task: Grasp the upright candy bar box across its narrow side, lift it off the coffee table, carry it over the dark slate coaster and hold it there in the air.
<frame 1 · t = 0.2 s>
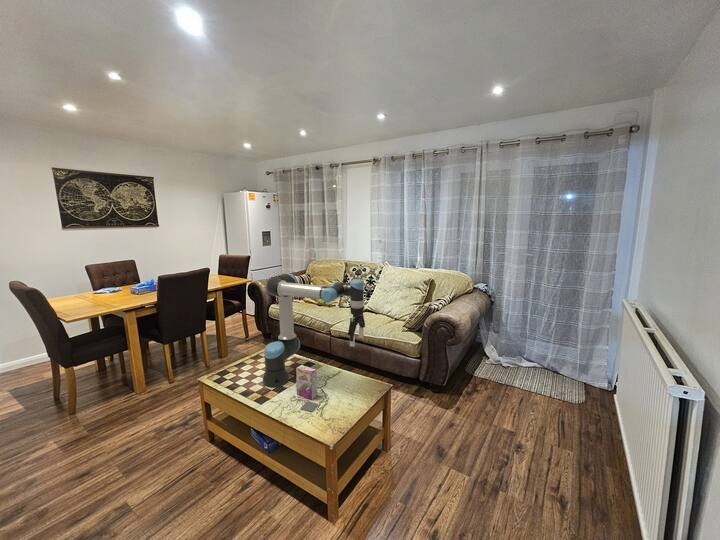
hand: (356, 341, 178), 28 cm above the table, fingers open, 13 cm apart
slate coaster: (309, 407, 161), on the table
candy bar box: (306, 395, 172), on the table
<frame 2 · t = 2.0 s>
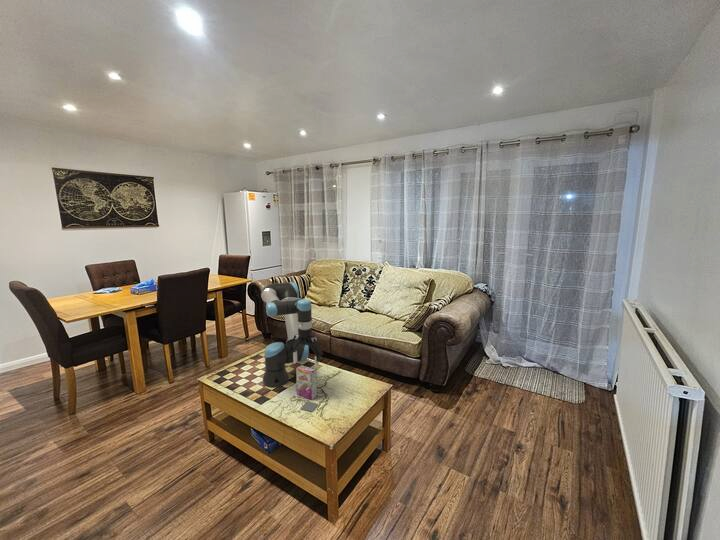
hand: (306, 364, 169), 19 cm above the table, fingers open, 13 cm apart
nothing on the table moved.
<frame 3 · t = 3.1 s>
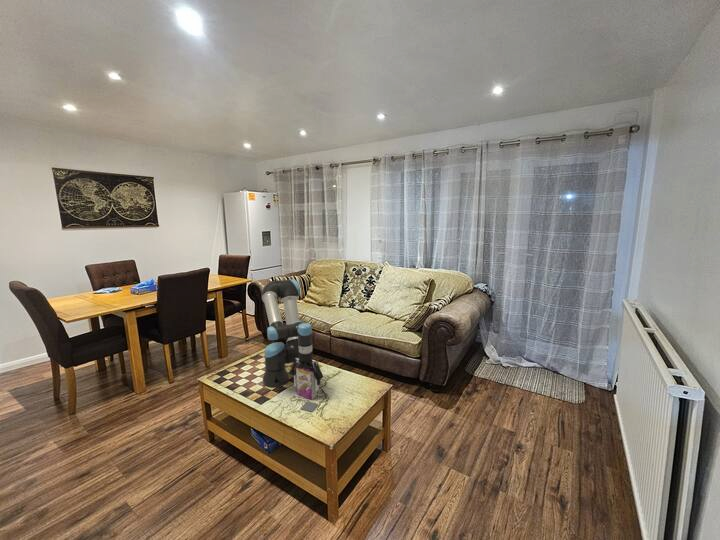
hand: (306, 387, 171), 5 cm above the table, fingers open, 13 cm apart
nothing on the table moved.
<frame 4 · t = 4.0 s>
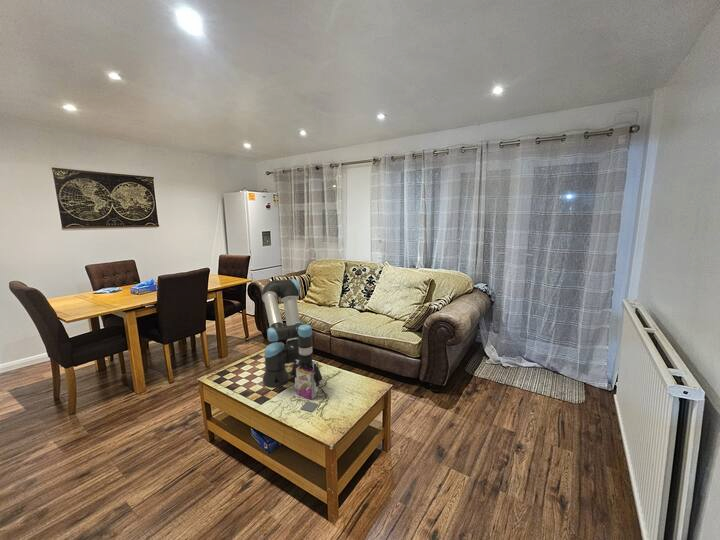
hand: (306, 389, 171), 4 cm above the table, fingers closed on candy bar box, 12 cm apart
candy bar box: (306, 395, 172), on the table, touching gripper
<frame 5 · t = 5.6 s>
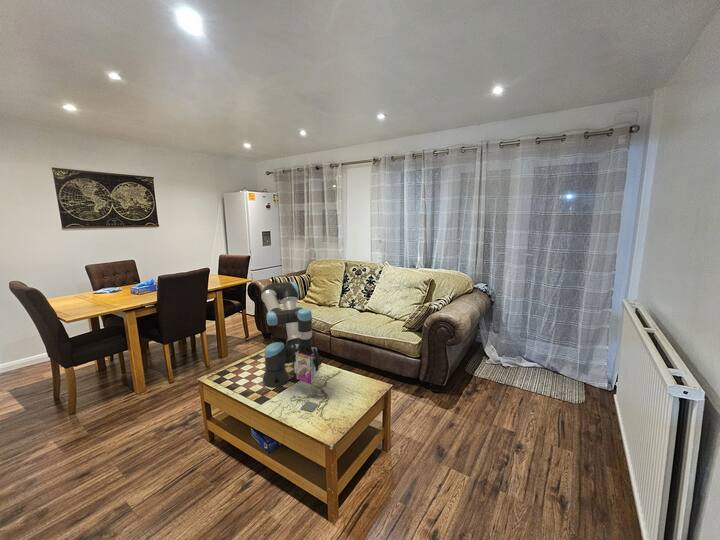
hand: (306, 374, 170), 13 cm above the table, fingers closed on candy bar box, 12 cm apart
candy bar box: (306, 380, 171), point 9 cm above the table, touching gripper
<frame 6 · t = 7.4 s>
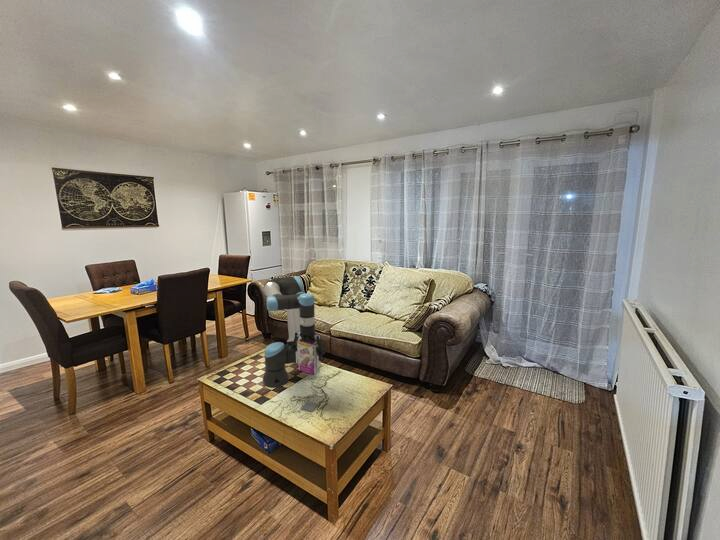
hand: (308, 364, 158), 24 cm above the table, fingers closed on candy bar box, 12 cm apart
candy bar box: (308, 371, 158), point 20 cm above the table, touching gripper
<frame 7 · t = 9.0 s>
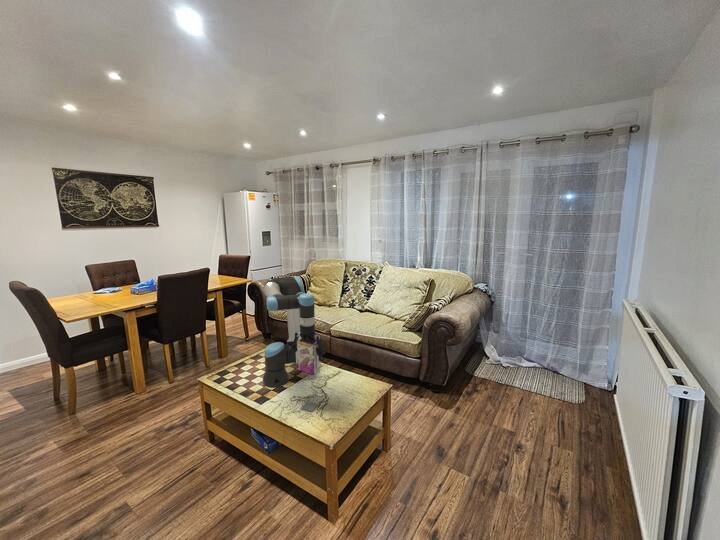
hand: (308, 364, 158), 24 cm above the table, fingers closed on candy bar box, 12 cm apart
candy bar box: (308, 371, 158), point 20 cm above the table, touching gripper
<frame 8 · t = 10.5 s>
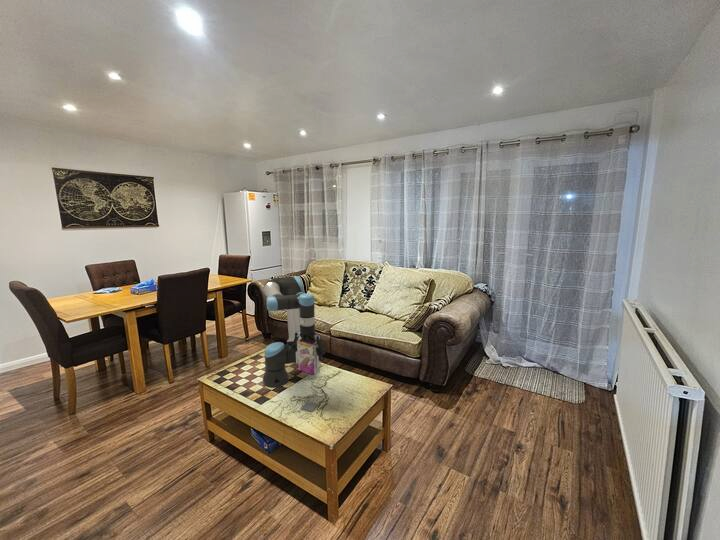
hand: (308, 364, 158), 24 cm above the table, fingers closed on candy bar box, 12 cm apart
candy bar box: (308, 371, 158), point 20 cm above the table, touching gripper
at the end: the gripper is holding candy bar box; candy bar box point 20.2 cm above the table; candy bar box inside the target area on the slate coaster (0.0 cm from its centre), point 20.2 cm above the slate coaster's base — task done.
